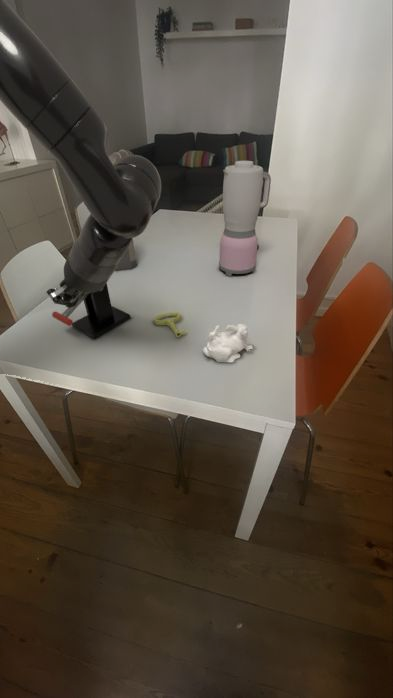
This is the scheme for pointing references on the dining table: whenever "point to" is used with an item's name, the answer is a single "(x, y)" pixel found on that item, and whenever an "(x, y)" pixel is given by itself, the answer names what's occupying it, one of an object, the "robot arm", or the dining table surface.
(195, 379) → the dining table surface
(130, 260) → the liquor
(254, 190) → the blender
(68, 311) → the lever
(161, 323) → the key
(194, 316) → the dining table surface
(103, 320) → the switch bracket
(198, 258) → the dining table surface
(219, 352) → the rabbit figurine
